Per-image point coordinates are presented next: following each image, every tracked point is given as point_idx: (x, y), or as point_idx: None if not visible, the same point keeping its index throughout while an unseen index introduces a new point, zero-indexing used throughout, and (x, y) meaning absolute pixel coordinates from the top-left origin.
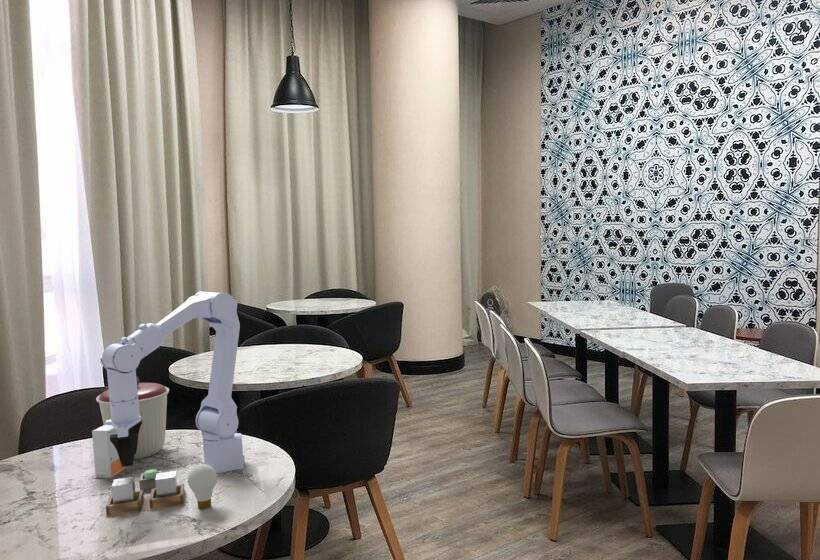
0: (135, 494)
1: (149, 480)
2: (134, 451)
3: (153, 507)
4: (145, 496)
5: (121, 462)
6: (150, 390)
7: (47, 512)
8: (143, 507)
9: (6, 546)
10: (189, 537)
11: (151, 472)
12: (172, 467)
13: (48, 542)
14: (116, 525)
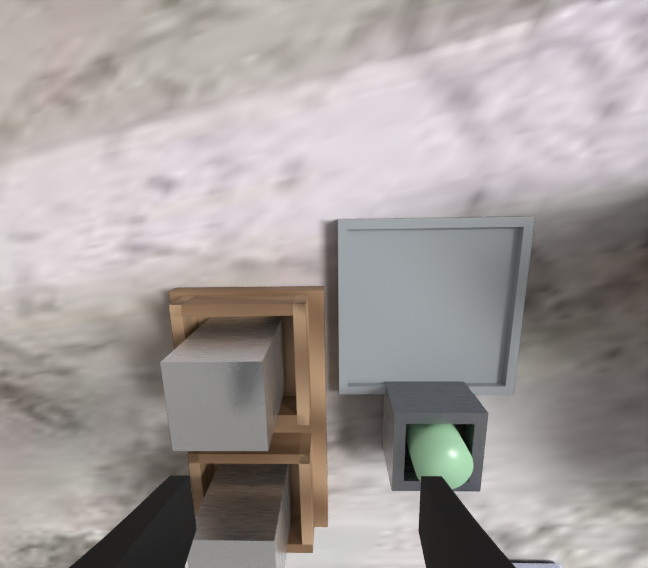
0: (281, 397)
1: (392, 445)
2: (423, 543)
3: None
4: (321, 409)
5: (143, 502)
6: None
7: (352, 24)
8: None
9: None
10: (5, 525)
11: (429, 471)
12: (641, 465)
13: (43, 111)
14: (135, 328)
